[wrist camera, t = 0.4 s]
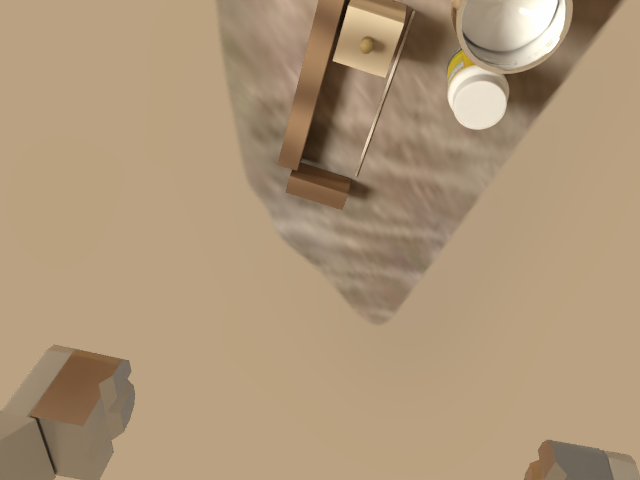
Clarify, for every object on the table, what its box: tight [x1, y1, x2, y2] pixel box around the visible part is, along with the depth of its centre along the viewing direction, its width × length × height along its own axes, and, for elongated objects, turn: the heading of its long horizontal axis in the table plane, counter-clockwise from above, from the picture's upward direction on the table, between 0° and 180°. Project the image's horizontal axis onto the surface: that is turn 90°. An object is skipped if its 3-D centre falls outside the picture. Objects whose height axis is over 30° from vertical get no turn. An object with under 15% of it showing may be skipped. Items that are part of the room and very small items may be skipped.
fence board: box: [278, 0, 415, 210], centre depth 53 cm, size 20×8×3 cm, turn 165°
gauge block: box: [333, 0, 407, 78], centre depth 47 cm, size 4×4×7 cm
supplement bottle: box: [447, 48, 509, 129], centre depth 47 cm, size 5×5×8 cm
